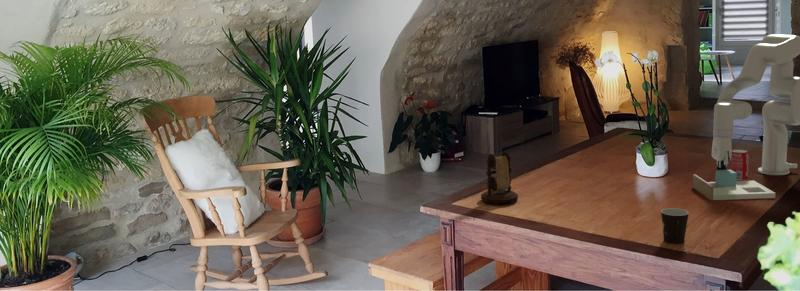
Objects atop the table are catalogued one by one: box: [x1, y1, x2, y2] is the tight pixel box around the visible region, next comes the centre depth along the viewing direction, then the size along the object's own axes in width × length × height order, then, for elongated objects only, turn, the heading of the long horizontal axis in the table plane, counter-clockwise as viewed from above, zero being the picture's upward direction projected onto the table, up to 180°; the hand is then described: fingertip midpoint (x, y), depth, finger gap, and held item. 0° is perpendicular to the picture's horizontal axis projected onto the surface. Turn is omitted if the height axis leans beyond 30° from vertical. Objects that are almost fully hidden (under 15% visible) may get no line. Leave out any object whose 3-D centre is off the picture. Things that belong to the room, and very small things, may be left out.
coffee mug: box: [660, 207, 690, 245], centre depth 262 cm, size 12×9×10 cm
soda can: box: [729, 148, 750, 181], centre depth 335 cm, size 7×7×13 cm
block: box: [714, 169, 737, 187], centre depth 323 cm, size 6×6×6 cm
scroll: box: [480, 151, 519, 206], centre depth 318 cm, size 15×15×20 cm
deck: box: [692, 173, 777, 201], centre depth 319 cm, size 25×20×6 cm
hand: (721, 176), depth 331 cm, fingers closed
